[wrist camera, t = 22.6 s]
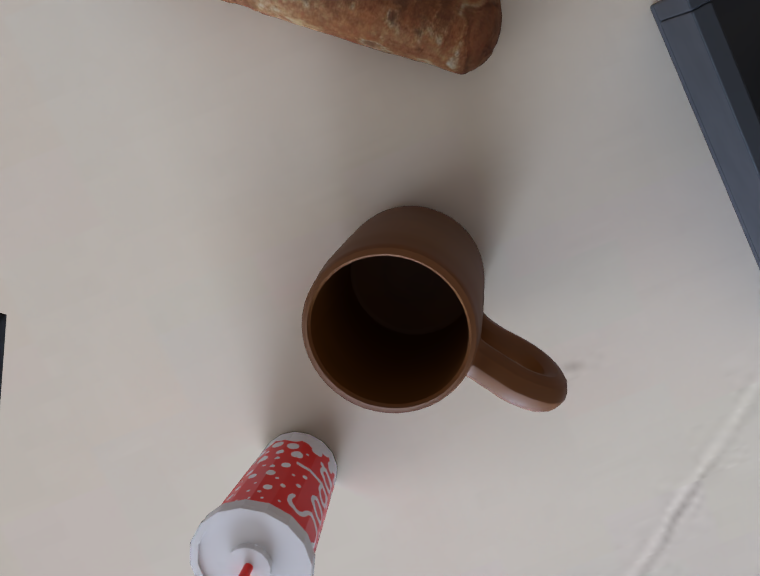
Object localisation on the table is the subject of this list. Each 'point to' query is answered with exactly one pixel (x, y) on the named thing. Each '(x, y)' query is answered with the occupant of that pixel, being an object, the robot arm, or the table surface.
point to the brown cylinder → (401, 26)
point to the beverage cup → (270, 514)
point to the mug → (416, 321)
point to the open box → (722, 90)
